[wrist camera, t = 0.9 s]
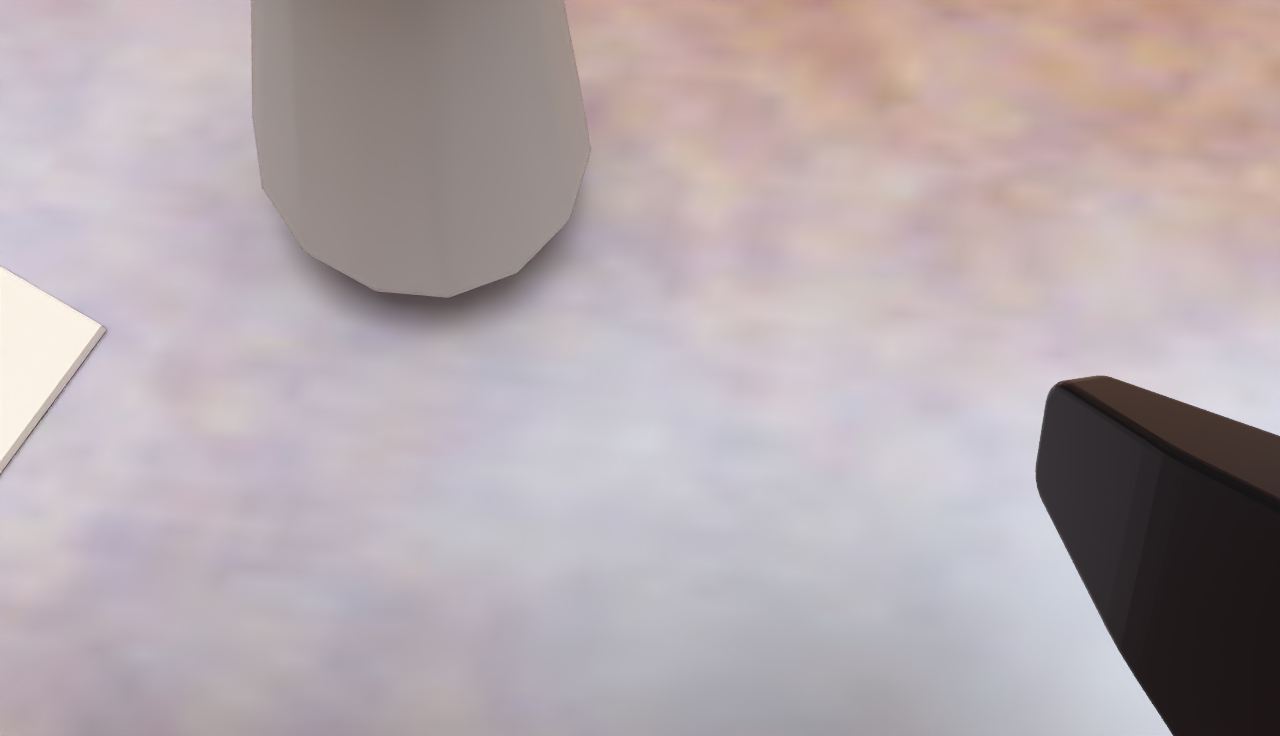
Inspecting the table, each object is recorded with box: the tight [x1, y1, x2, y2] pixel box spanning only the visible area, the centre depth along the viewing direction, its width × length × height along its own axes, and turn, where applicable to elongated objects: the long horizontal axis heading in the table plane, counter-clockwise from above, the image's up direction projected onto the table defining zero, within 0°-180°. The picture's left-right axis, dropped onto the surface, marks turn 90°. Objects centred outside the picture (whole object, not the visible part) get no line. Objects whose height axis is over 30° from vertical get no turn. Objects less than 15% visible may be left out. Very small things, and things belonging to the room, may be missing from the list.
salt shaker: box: [251, 0, 591, 298], centre depth 17 cm, size 6×6×13 cm
